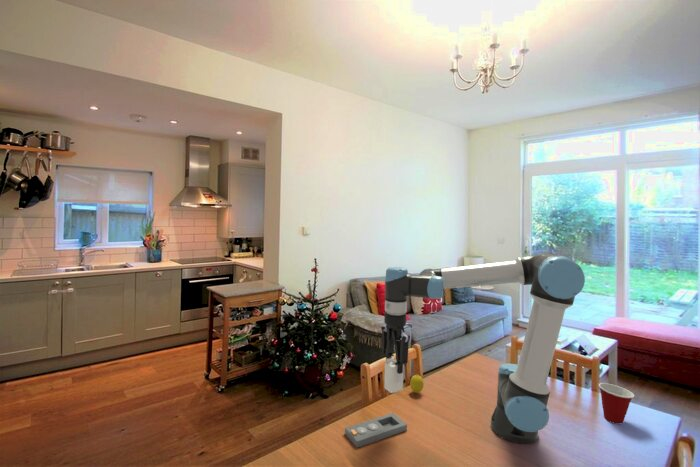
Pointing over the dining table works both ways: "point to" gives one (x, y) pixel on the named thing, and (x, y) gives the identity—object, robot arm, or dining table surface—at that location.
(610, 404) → the plastic cup
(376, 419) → the power strip
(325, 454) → the dining table surface
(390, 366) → the block
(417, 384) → the lemon
